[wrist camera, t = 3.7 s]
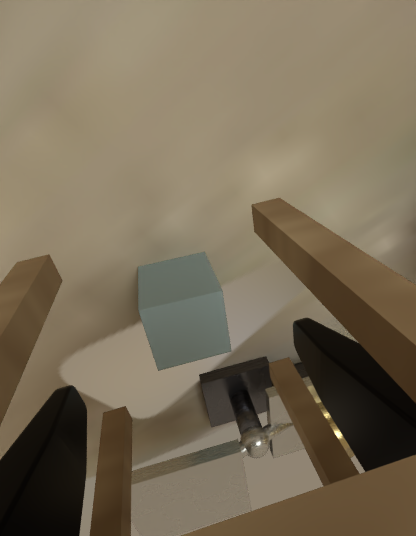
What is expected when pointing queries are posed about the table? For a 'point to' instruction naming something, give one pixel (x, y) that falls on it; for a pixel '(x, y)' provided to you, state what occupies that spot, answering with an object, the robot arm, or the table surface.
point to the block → (182, 310)
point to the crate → (283, 377)
